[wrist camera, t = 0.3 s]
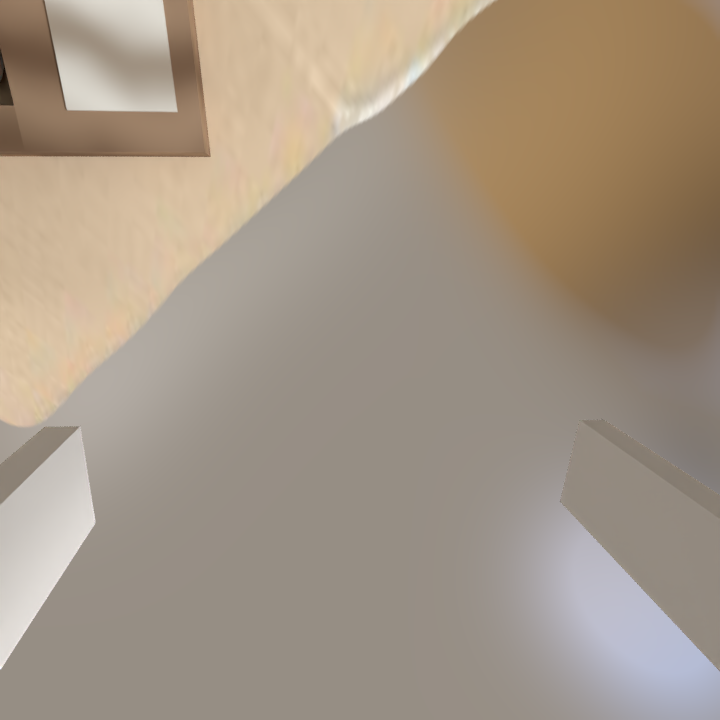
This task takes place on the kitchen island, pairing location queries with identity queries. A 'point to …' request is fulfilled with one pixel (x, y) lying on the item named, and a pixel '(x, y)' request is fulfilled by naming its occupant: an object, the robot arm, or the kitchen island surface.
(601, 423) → the robot arm
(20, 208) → the kitchen island surface
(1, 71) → the beer can
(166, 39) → the pocket board
